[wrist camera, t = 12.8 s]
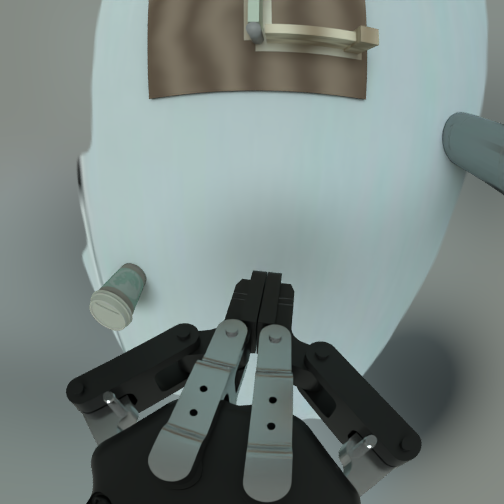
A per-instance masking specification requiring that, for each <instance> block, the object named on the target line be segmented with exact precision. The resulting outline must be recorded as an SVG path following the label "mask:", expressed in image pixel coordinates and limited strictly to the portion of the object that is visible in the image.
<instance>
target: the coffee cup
mask: <svg viewBox="0 0 504 504" xmlns="http://www.w3.org/2000/svg"><path fill="white" fill-rule="evenodd" d="M145 282H146V276H145V274H144V272H143V271H142V269H140V268H139V267H138V266H136V265H134V264H130V263H127V264H124V265H123V266H122V267H121V268H120V269H119V270H118V271H117V272H116V273H115V274H114V275H113V276H112V277H111V278H110V279H109V280H108V281H107V282H106V283H105V284H104V285H103V286H102V287H101V288H100V289H99V290H98V291H95V292H94V293H93V295H92V297H91V302H90V311H91V313H92V315H93V316H94V318H95V319H96V320H97V321H98V322H99V323H100V324H101V325H103V326H104V327H106V328H108V329H111V330H115V331H120V330H123V329H124V328H125V327H127V326H128V325H129V324H130V323H131V321H132V315H133V312H134V310H135V307H136V304H137V302H138V299H139V297H140V294H141V292H142V289H143V287H144V284H145Z"/></svg>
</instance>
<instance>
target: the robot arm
mask: <svg viewBox="0 0 504 504" xmlns="http://www.w3.org/2000/svg"><path fill="white" fill-rule="evenodd" d="M443 145H444V149H445V152H446V154H447V156H448V157H449V159H450V160H451V161H452V162H453V163H454V164H456V165H458V166H460V167H461V168H463V169H465V170H466V171H468V172H470V173H471V174H473V175H474V176H476V177H478V178H479V179H481V180H482V181H484V182H485V183H487V184H488V185H490V186H491V187H493V188H494V189H496V190H497V191H499V192H500V193H502V194H503V195H504V124H501V123H498V122H495V121H492V120H489V119H486V118H482V117H479V116H475V115H472V114H468V113H462V112H460V113H456V114H454V115H452V116H451V117H450V118H449V119H448V121H447V122H446V125H445V127H444V131H443ZM281 277H282V273H273V272H268V274H267V272H263V271H253V273H252V276H251V280H247V279H242V280H241V281H240V282H239V283H238V284H236V287H235V290H234V293H233V296H232V299H231V302H230V305H229V308H228V311H227V314H226V317H225V320H224V321H223V322H221V323H220V324H219V325H218V327H217V328H215V329H212V330H205V331H198V329H197V328H196V327H195V326H193V325H191V324H187V323H183V324H179V325H176V326H174V327H172V328H171V329H169V330H167V331H165V332H163V333H161V334H159V335H158V336H156V337H154V338H152V339H150V340H148V341H146V342H145V343H143V344H141V345H139V346H137V347H135V348H133V349H131V350H129V351H127V352H126V353H124V354H122V355H120V356H118V357H116V358H114V359H112V360H110V361H108V362H106V363H104V364H102V365H100V366H98V367H97V368H94V369H92V370H90V371H88V372H87V373H85V374H83V375H81V376H79V377H77V378H75V379H73V380H72V381H71V382H70V383H69V384H68V386H67V389H66V394H67V397H68V399H69V400H70V401H71V402H72V403H73V404H74V405H75V406H76V407H77V409H78V410H79V411H80V412H81V413H82V414H83V416H84V418H85V420H86V423H87V425H88V427H89V429H90V431H91V433H92V435H93V437H94V439H95V441H96V443H97V445H98V447H97V448H96V449H95V451H94V453H93V455H92V460H91V468H92V474H93V491H92V495H91V497H90V499H89V500H88V502H87V503H86V504H361V502H360V496H362V495H363V494H364V493H365V492H367V491H368V490H369V489H370V488H372V487H373V486H374V485H375V484H377V483H378V482H379V481H380V480H381V479H383V478H384V477H385V476H386V475H387V474H388V473H389V472H390V471H392V470H393V469H395V468H397V467H399V466H401V465H403V464H404V463H406V462H408V461H409V460H412V459H413V458H415V457H416V456H417V455H418V453H419V452H420V449H421V439H420V437H419V435H418V434H417V433H416V432H415V431H414V430H413V429H412V428H411V427H410V426H409V425H408V424H407V423H406V422H405V421H404V419H403V418H402V417H401V416H400V415H399V414H398V413H397V412H396V411H395V410H394V409H393V408H392V407H391V406H390V405H389V404H388V403H387V402H386V401H385V400H384V399H383V398H382V397H381V396H380V395H379V393H378V392H377V391H376V390H375V389H374V388H373V387H372V386H371V385H370V384H369V383H368V382H367V381H366V380H365V379H364V378H363V377H362V376H361V375H360V374H359V373H358V372H357V371H356V369H355V368H354V367H353V366H352V365H351V364H350V363H349V362H348V361H347V360H346V359H345V358H344V357H343V356H342V355H341V354H340V353H339V352H338V351H337V350H336V349H335V347H333V346H332V345H331V344H329V343H326V342H315V343H312V344H311V345H309V344H306V343H303V342H301V341H299V340H298V339H297V338H296V337H295V336H294V335H293V333H292V330H291V326H292V315H293V302H294V290H293V288H292V286H291V284H284V283H281ZM256 347H257V354H258V357H257V367H256V373H255V382H254V392H253V401H252V405H243V406H238V405H236V402H237V397H238V393H239V390H240V387H241V384H242V381H243V378H244V375H245V372H246V369H247V363H248V361H249V356H250V353H255V352H256ZM293 385H295V386H297V388H298V390H299V392H300V393H301V394H302V396H303V397H304V398H305V399H306V401H307V402H308V403H309V404H310V406H311V407H312V408H313V409H314V411H315V412H316V413H317V414H318V415H319V417H320V418H321V419H322V420H323V422H324V423H325V424H326V425H327V426H328V428H329V429H330V430H331V431H332V432H333V434H334V435H335V436H336V437H337V438H338V440H339V441H340V442H341V443H342V444H343V445H342V447H341V448H340V450H339V459H340V461H341V463H342V465H343V469H344V472H342V471H341V469H340V468H339V467H338V465H337V464H336V463H335V462H334V460H333V459H332V458H331V456H330V455H329V454H328V452H327V451H326V450H325V448H324V447H323V446H322V444H321V443H320V442H319V440H318V439H317V437H316V436H315V435H314V434H313V432H312V431H311V429H310V428H309V427H308V426H307V425H306V424H305V423H304V422H303V421H302V420H301V419H299V418H298V417H296V416H294V415H293ZM183 387H184V389H183V391H182V393H181V395H180V397H179V399H177V400H174V401H172V402H170V403H168V404H166V405H165V406H163V407H161V408H160V409H158V410H157V411H155V412H153V413H152V414H150V415H148V416H147V417H145V418H143V419H142V420H140V421H138V422H137V420H138V417H139V413H140V412H141V411H143V410H145V409H147V408H149V407H150V406H152V405H154V404H156V403H157V402H159V401H161V400H163V399H164V398H166V397H168V396H169V395H171V394H173V393H175V392H176V391H178V390H180V389H181V388H183ZM136 422H137V423H136Z"/></svg>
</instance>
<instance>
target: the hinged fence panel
mask: <svg viewBox="0 0 504 504" xmlns="http://www.w3.org/2000/svg"><path fill="white" fill-rule="evenodd" d="M262 30H263V0H248V24H247V25H246V31H247V33H248V34H249V36H250V38H251V40H252V42H253V43H255V44H261V43H262V42H263V41H264V37H263V33H262Z"/></svg>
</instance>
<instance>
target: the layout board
mask: <svg viewBox="0 0 504 504" xmlns="http://www.w3.org/2000/svg"><path fill="white" fill-rule="evenodd" d="M247 24H248V0H149V7H148V86H149V99H153V98H159V97H166V96H174V95H182V94H192V93H203V92H218V91H247V90H265V91H294V92H309V93H320V94H330V95H338V96H346V97H353V98H359V99H366V84H367V50H366V51H364V52H362V53H360V54H354V53H348V52H344V49H339V48H331V47H323V46H313V45H301V44H283V43H267V40H266V36H265V24H292V25H307V26H317V27H326V28H334V29H341V30H347V31H354V30H355V29H357V28H358V27H359V26H366V7H365V0H263V30H262V33H263V37H264V41H263V42H262V43H261V44H255V43H253V42H252V40H251V38H250V36H249V34H248V33H247V31H246V25H247Z"/></svg>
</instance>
